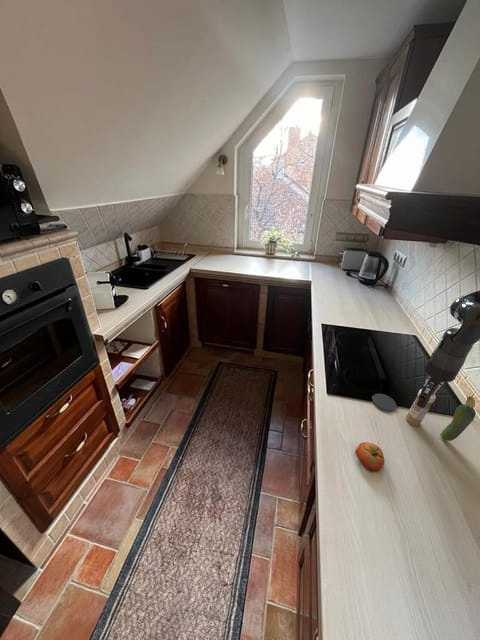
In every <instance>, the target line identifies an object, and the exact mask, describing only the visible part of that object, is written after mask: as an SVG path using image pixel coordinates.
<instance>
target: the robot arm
mask: <svg viewBox="0 0 480 640" xmlns="http://www.w3.org/2000/svg"><path fill="white" fill-rule="evenodd" d="M448 311H449V314H450V315H451V317H452V318H453V319H455V320H456V321H457V322H458V323H460V327H459V328H458V327H450V328H447V329H446V330H445V331H444V333H443V334H442V335H441V337H440V340H439V341H438V343H437V345H436V347H434V349H433V352H432V353H431V354H430V357H429V359H428V360H427V362H426V365H425V367H424V370H425V372H426V374H427V375H428V376H427V377H426V379H425V381H424V382H425V383H424V384H423V386H422V388H421V389H422V391H421V393H420V395H419V396H418V395H417V396H418V398H419V400H418V402H417V404H416V405H417V406H419V407H421V408H424V407H425V406H426V404H427V402H428V401H429V400H430V398H431V396H434V395H436V393H437V392H438V390H440V389H441V388H442V386H443V385H444V383H452V382H454V381H455V380H456V378H457V376H458V375H459V373H460V371H461V370H462V368H463V366H464V364H465V362H466V360H467V357H468V355H469V353H470V352H471V350H472V349H473V347H474V345H475V344H476V343H477V342H479V341H480V289H478V290H473V291H471V292H468V293H465V294H463V295H461V296H459V297H457V298H456V299H455V300H454V301H453V302H452V303H451V304H450V306H449V310H448Z"/></svg>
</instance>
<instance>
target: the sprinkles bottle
mask: <svg viewBox="0 0 480 640" xmlns="http://www.w3.org/2000/svg"><path fill="white" fill-rule="evenodd" d="M421 391H422V388H420V389H419V390H418V393H417V396H416V398H415V400H414V401H413V403H412V405H411V406H410V408H409V411H408V412H407V414H406V416H405V421H406V422H407V423H408V424H410V425H412V426H415V427H417V426H418V427H419V426H420V425H421V423H422V421H423V420H424V418H425V417H426V415H427V413H428V411H429V410H430V408H431V406H432V404H433V403H434V402H435V401H436V398H437V395H436V394H435V395H434V396H431V398H430V400H429V401H428V402H427V404H426V406H425V407H424V408H421V407H419V406H417V405H416V404H417V402H418V400H419V398H418V396H419V395H420V393H421Z"/></svg>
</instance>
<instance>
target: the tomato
mask: <svg viewBox="0 0 480 640" xmlns="http://www.w3.org/2000/svg"><path fill="white" fill-rule="evenodd" d="M354 453H355V455H356V457H357V459H358V460H359V463H361V465H362V466H363V467H364V468H366V469H367V470H368V471H370V472H371V473H372V472H373V473H374V472H378V471H380V470H381V469H382V468H383V466H384V465H385V461H386V460H385V457H384V452H383V450H382V449H381V448H380V446H379V445H376V444H375V443H372V442H360V443H359V444H358V446H357V447H356V450H355V451H354Z"/></svg>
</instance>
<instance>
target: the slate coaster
mask: <svg viewBox="0 0 480 640" xmlns="http://www.w3.org/2000/svg"><path fill="white" fill-rule="evenodd" d="M371 402H372V404H373V405H374V407H376V408H377V409H378V410H381V411H382V412H387V413H391V412H394V411H395V410H396V409H397V403H396V401H395V400H394V399H393V398H392V397H391V396H389V395H386V394H384V393H375V394H373V395H372V397H371Z"/></svg>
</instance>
